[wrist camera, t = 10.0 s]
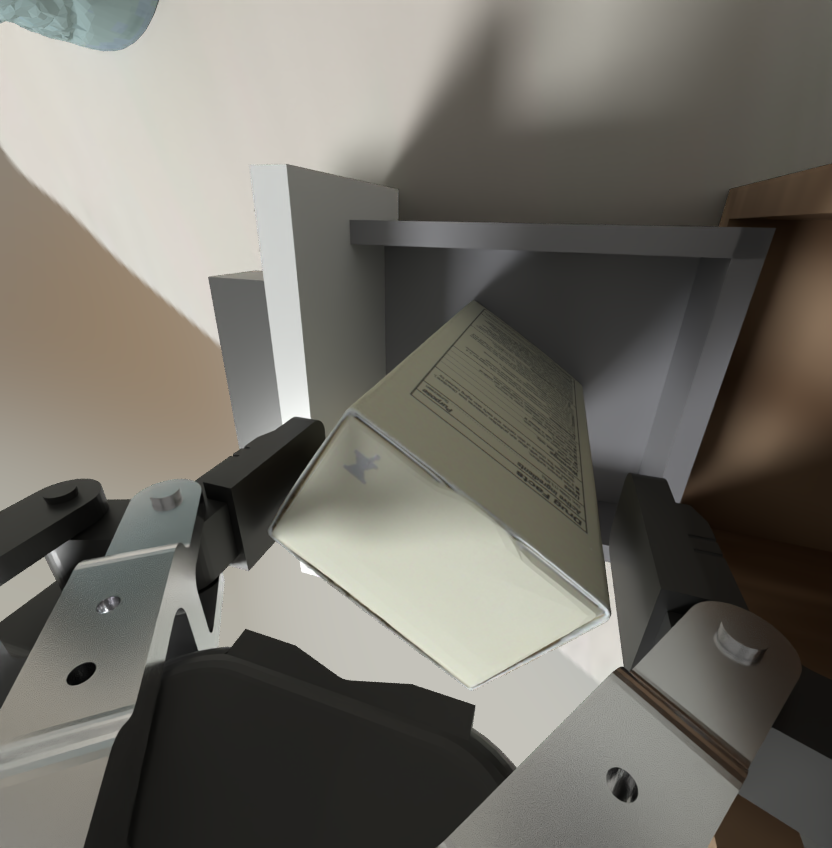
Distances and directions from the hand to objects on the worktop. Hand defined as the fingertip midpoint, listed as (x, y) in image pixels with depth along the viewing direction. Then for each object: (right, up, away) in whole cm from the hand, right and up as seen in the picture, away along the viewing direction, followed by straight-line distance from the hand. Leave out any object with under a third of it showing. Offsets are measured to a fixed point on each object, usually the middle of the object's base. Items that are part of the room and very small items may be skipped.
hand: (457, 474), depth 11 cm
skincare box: (+3, +3, +8) cm, 9 cm away
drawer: (+1, +4, +10) cm, 11 cm away
